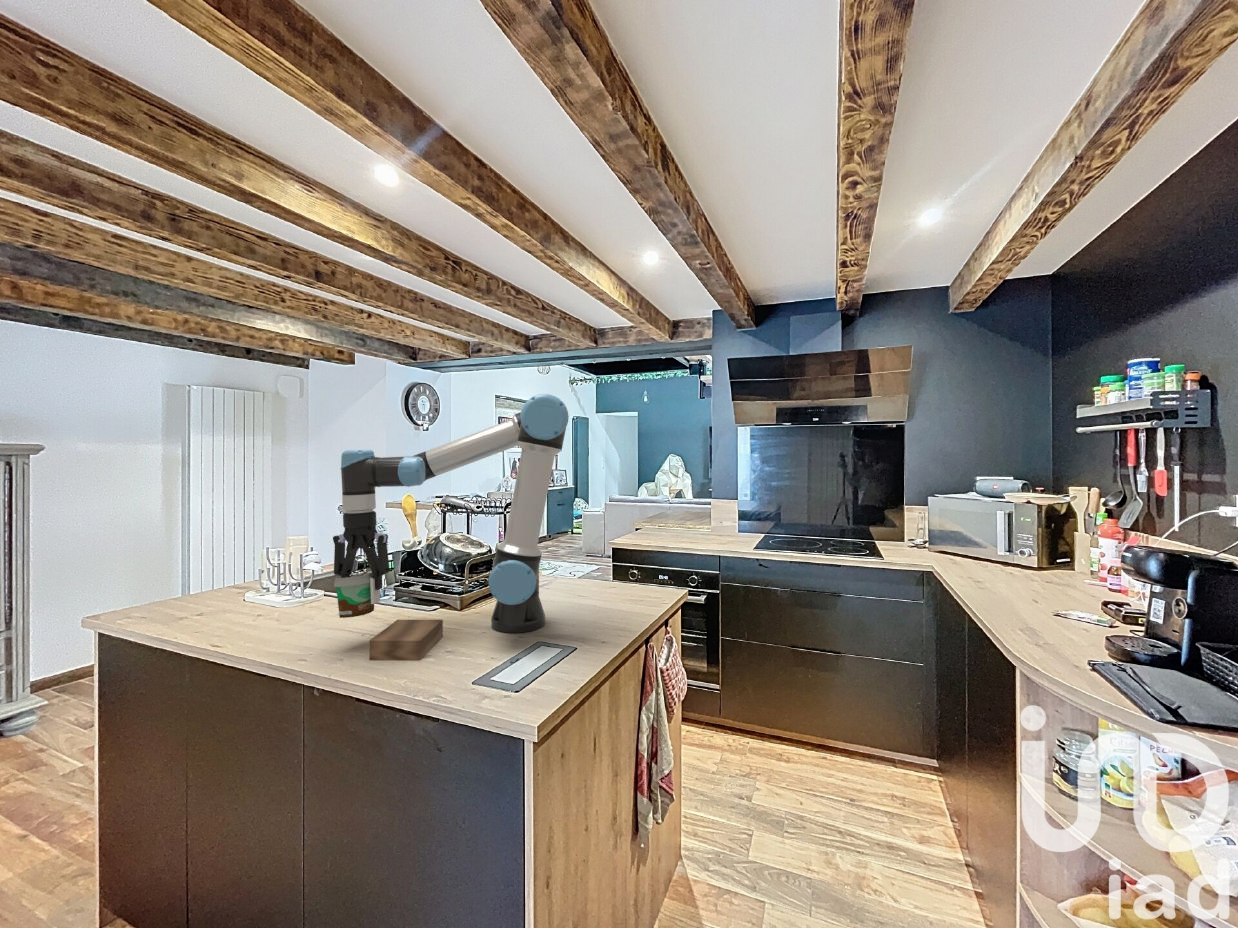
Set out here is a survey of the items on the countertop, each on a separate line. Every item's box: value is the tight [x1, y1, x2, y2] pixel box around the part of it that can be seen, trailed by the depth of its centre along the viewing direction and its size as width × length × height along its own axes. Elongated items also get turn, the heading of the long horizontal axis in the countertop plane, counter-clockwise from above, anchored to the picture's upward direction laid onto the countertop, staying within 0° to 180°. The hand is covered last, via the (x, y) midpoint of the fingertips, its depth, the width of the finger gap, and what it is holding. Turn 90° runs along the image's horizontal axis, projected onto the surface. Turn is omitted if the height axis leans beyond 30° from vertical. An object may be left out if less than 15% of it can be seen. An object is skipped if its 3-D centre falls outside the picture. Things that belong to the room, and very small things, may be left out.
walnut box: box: [368, 619, 444, 661], centre depth 132 cm, size 12×16×5 cm
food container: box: [333, 567, 375, 619], centre depth 133 cm, size 12×6×10 cm, turn 168°
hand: (362, 602), depth 133 cm, fingers closed on food container, 6 cm apart
